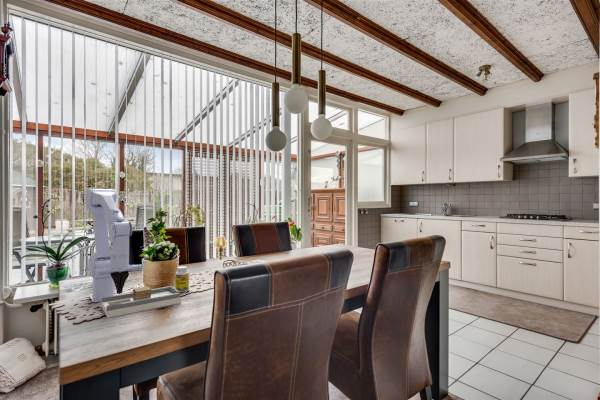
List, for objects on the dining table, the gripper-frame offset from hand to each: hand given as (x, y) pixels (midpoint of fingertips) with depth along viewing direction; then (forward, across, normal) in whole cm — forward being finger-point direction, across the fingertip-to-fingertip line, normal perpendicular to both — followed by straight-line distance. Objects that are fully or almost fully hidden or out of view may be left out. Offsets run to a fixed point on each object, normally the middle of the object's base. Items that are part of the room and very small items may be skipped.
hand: (119, 292), depth 109 cm
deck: (+6, +8, 0) cm, 9 cm away
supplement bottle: (+6, +26, +9) cm, 28 cm away
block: (+4, +8, 0) cm, 8 cm away
